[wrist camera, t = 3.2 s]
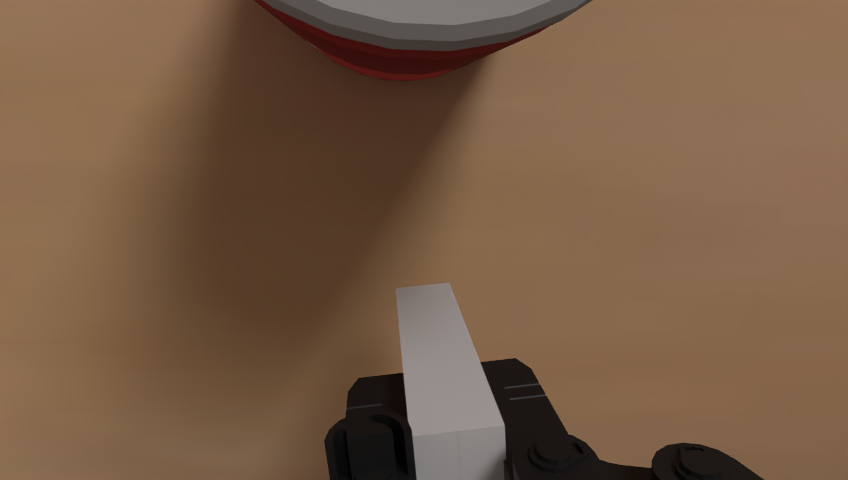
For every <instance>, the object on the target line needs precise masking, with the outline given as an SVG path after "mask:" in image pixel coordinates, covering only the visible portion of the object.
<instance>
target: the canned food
mask: <svg viewBox="0 0 848 480" xmlns="http://www.w3.org/2000/svg"><path fill="white" fill-rule="evenodd" d="M254 1H255V2H257V3H258V4H259V5H261V6H262V7H263V8H264V9H266V10H267V11H268V12H270V13H271V14H272V15H273V16H275V17H276V18H277V19H279V20H280V21H281V22H282V23H284V24H285V25H286V26H287V27H289V28H290V29H291V30H293V31H294V32H295V33H296V34H298V35H299V36H300V37H302V38H303V39H304V40H305V41H307V42H308V43H309V44H311V45H312V46H313V47H314V48H316V49H317V50H319V51H320V52H322V53H323V54H324V55H326V56H327V57H329V58H330V59H332V60H333V61H335V62H336V63H338V64H340V65H342V66H344V67H347V68H349V69H351V70H353V71H356V72H358V73H360V74H363V75H367V76H372V77H376V78H380V79H384V80H400V81H414V80H420V79H426V78H432V77H437V76H440V75H442V74H445V73H447V72H450V71H452V70H455V69H457V68H460V67H462V66H465V65H467V64H469V63H471V62H474V61H476V60H478V59H480V58H483V57H485V56H487V55H489V54H492V53H494V52H496V51H498V50H501V49H503V48H505V47H508V46H510V45H512V44H514V43H517V42H519V41H521V40H523V39H526V38H528V37H530V36H532V35H535V34H537V33H539V32H541V31H542V30H544V29H545V28H547V27H548V26H550V25H553V24H555V23H557V22H559V21H561V20H563V19H564V18H566V17H567V16H569V15H570V14H572V13H573V12H575V11H577V10H578V9H580V8H581V7H583V6H584V5H586V4H587V3H589V2H590V1H592V0H254Z"/></svg>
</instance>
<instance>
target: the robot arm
mask: <svg viewBox="0 0 848 480" xmlns="http://www.w3.org/2000/svg"><path fill="white" fill-rule="evenodd" d="M395 291H396V301H397V312H398V322H399V333H400V343H401V353H402V364H403V373H398V374H389V375H380V376H372V377H363V378H358V380H357V381H356V382H355V383H354V385H353V386H352V387H351V389H350V390H349V391H348V398H347V410H346V418H344V419H342V420H340V421H338V422H337V423H336V424H335V425H334V426H333V427H332V428H331V429H330V430H329V431H328V434H327V436H326V438H325V440H324V442H325V449H326V455H327V462H328V468H329V475H330V480H764V479H762V478H761V477H759V476H758V475H757V474H755V473H754V472H752V471H751V470H750V469H748V468H747V467H745V466H744V465H743V464H741V463H740V462H738V461H737V460H736V459H734V458H732V457H730V456H728V455H727V454H725V453H723V452H721V451H719V450H717V449H713V448H710V447H707V446H704V445H700V444H690V443H678V444H672V445H667V446H665V447H663V448H662V449H660V450H658V451H656V453H655V455H654V457H653V459H652V468H644V467H635V466H625V465H618V464H613V463H608V462H605V461H602V460H599V458H598V457H597V455H596V453H595V452H594V451H593V450H592V449H591V448H590V447H589V446H588V445H587V443H586V442H584V441H582V440H580V439H578V438H576V437H574V436H573V435H568V433H567V431H566V429H565V428H564V426H563V424H562V422H561V421H560V419H559V417H558V415H557V413H556V412H555V410H554V408H553V406H552V405H551V403H550V401H549V399H548V398H547V396H545V392H544V391H543V389H542V387H541V385H539V382H538V380H537V378H536V377H535V375H534V373H533V371H532V370H531V368H529V367H528V366H526V365H525V364H523V363H522V362H520V361H519V360H517V359H516V358H513V359H504V360H496V361H487V362H480V361H479V358H478V355H477V353H476V350H475V348H474V345H473V343H472V340H471V337H470V335H469V332H468V330H467V327H466V325H465V322H464V320H463V317H462V314H461V312H460V309H459V307H458V304H457V302H456V299H455V296H454V294H453V291H452V289H451V286H450V284H449V283H441V284H432V285H422V286H413V287H403V288H395Z"/></svg>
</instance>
